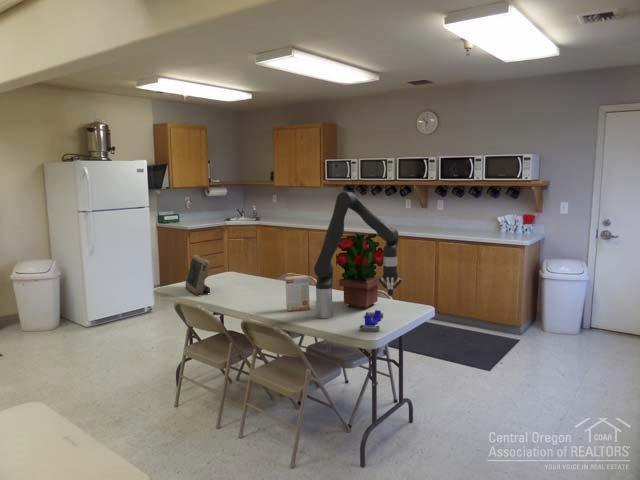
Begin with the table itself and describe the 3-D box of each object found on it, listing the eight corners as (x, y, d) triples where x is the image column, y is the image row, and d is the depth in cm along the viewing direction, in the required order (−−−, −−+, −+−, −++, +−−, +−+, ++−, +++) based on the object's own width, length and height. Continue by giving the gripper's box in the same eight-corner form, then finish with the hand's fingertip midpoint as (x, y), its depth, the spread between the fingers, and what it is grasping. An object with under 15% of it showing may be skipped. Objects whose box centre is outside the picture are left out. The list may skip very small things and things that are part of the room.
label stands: (359, 331, 255) (359, 326, 254) (366, 315, 282) (366, 311, 281) (378, 332, 252) (378, 327, 252) (383, 316, 280) (383, 312, 279)
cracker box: (308, 307, 301) (307, 274, 298) (310, 310, 295) (309, 276, 292) (286, 309, 299) (285, 276, 296) (287, 311, 293) (286, 278, 290)
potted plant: (368, 312, 288) (368, 238, 282) (336, 307, 300) (335, 236, 294) (384, 303, 306) (384, 233, 300) (353, 299, 318) (353, 231, 312)
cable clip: (371, 327, 261) (371, 316, 260) (364, 325, 264) (364, 315, 263) (383, 321, 271) (383, 311, 270) (376, 320, 273) (376, 310, 272)
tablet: (181, 288, 360) (179, 255, 356) (199, 285, 367) (197, 253, 364) (196, 297, 332) (194, 261, 329) (215, 294, 340) (213, 259, 336)
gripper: (377, 265, 258) (377, 297, 261) (402, 266, 255) (402, 297, 258) (378, 263, 265) (378, 293, 268) (402, 263, 263) (403, 294, 265)
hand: (390, 295), depth 263 cm, fingers closed
